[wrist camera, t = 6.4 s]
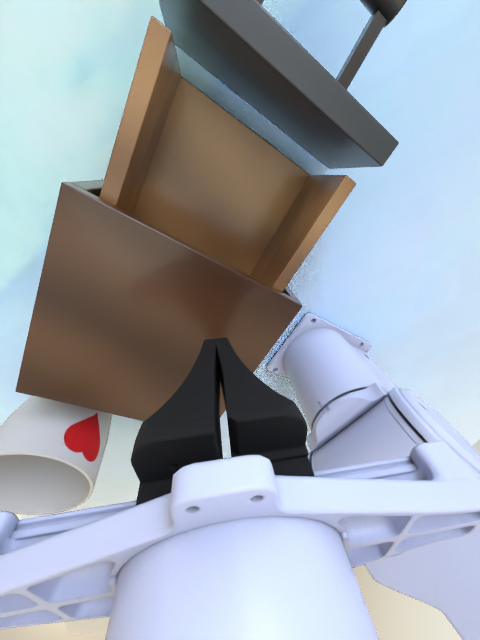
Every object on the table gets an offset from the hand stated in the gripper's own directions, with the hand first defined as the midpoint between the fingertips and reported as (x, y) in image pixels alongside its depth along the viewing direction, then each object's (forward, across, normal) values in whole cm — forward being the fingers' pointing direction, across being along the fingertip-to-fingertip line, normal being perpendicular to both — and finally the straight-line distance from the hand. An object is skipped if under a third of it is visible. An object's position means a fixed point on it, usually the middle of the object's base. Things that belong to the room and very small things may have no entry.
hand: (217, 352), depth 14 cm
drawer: (+9, -3, -10) cm, 13 cm away
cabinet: (+9, +4, 0) cm, 10 cm away
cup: (+10, +14, +10) cm, 20 cm away
